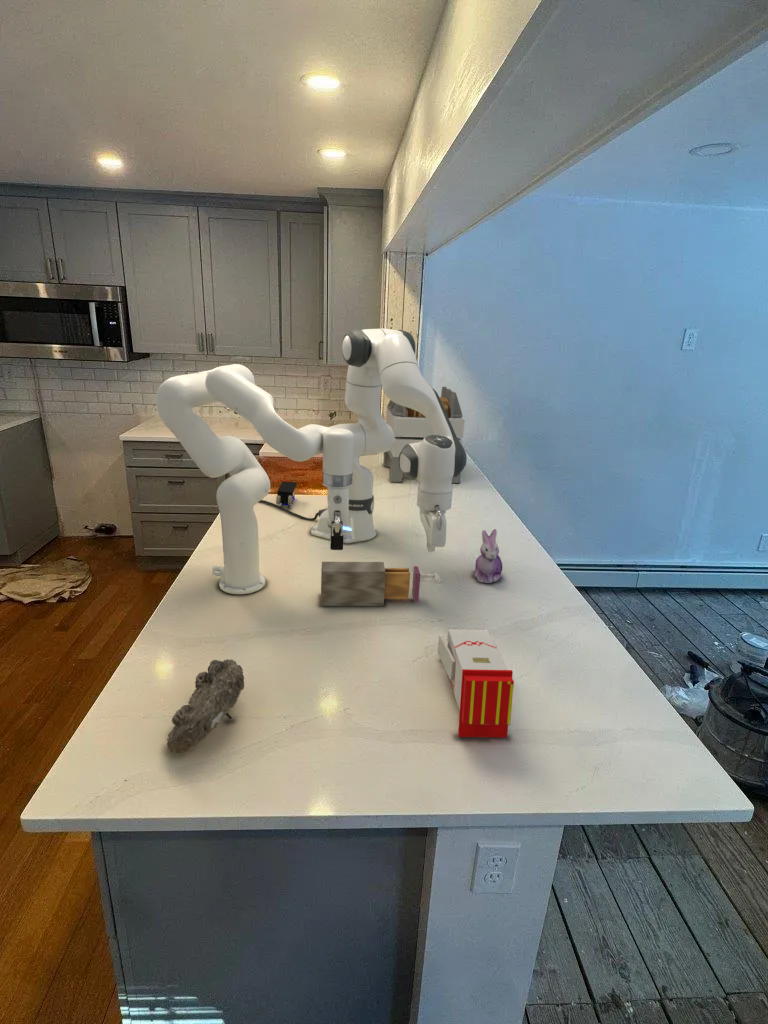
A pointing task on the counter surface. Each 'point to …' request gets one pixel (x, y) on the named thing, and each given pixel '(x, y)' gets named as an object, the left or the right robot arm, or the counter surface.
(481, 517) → the counter surface
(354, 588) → the cabinet
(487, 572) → the figurine
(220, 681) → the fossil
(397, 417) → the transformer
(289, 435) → the left robot arm
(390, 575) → the drawer
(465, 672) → the toy
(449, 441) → the right robot arm
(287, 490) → the figurine character
